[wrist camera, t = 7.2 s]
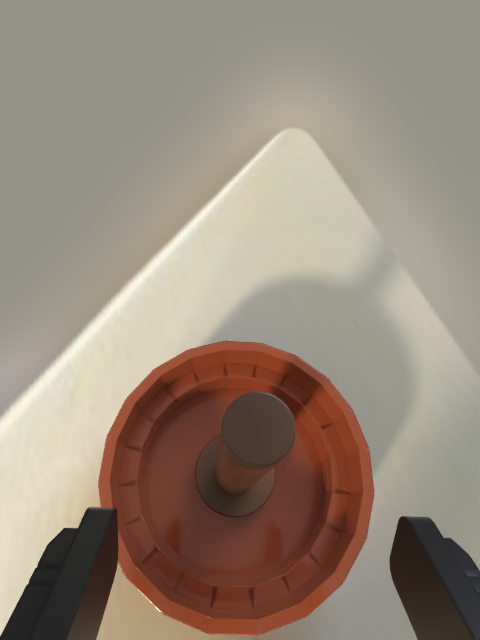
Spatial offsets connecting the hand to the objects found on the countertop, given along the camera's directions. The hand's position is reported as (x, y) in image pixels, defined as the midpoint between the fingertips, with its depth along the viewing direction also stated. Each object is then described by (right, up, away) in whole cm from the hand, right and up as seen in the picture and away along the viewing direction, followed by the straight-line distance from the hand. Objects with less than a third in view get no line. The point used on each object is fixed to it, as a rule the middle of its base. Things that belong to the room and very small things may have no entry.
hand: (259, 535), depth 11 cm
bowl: (-1, -4, +14) cm, 14 cm away
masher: (-1, -4, +13) cm, 14 cm away
